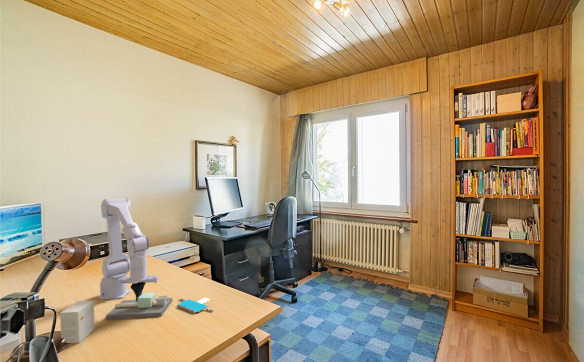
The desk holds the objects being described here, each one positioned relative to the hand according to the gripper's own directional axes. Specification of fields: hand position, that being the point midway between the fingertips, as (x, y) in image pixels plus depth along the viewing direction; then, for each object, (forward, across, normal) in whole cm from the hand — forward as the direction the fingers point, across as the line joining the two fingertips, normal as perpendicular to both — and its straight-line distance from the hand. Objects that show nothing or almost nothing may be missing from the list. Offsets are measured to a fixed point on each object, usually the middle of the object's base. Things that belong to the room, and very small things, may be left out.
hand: (139, 300), depth 106 cm
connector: (+2, +9, 0) cm, 9 cm away
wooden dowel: (+3, +1, 0) cm, 3 cm away
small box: (+4, -12, -16) cm, 21 cm away
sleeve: (+2, +3, 0) cm, 4 cm away
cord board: (+4, +1, 0) cm, 4 cm away
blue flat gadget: (+4, +22, +2) cm, 23 cm away
